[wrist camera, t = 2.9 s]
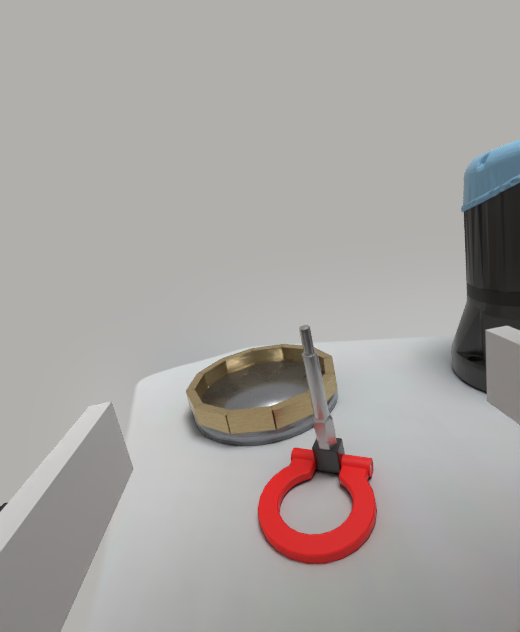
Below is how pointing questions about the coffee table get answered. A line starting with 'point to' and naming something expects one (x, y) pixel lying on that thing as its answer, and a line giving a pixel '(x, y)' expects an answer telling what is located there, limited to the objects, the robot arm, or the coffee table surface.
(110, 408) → the robot arm
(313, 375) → the tow hook
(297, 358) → the wooden rimmed bowl
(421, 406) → the coffee table surface
